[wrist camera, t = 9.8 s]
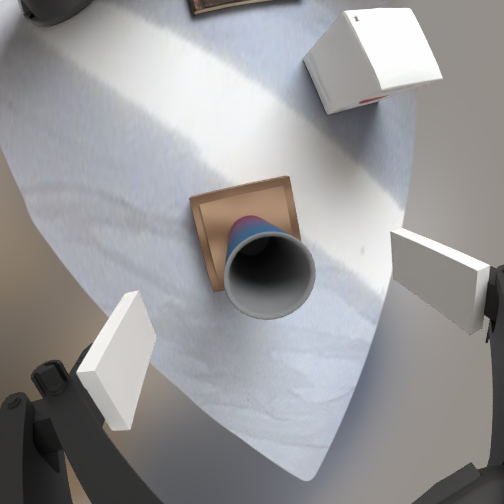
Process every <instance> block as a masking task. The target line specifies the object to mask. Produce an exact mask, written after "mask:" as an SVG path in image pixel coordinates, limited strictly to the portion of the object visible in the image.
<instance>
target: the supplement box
mask: <svg viewBox="0 0 504 504" xmlns="http://www.w3.org/2000/svg"><path fill="white" fill-rule="evenodd" d="M303 60H304V62H305V65H306V67H307V69H308V71H309V73H310V76H311V78H312V80H313V83H314V85H315V87H316V90H317V92H318V94H319V97H320V99H321V102H322V104H323V107H324V109H325V111H326V113H327V115H329V114H333V113H337V112H341V111H344V110H348V109H352V108H355V107H359V106H363V105H367V104H371V103H375V102H378V101H381V100H383V99H386V98H389V97H392V96H394V95H397V94H400V93H403V92H406V91H408V90H411V89H414V88H417V87H420V86H423V85H426V84H429V83H432V82H436V81H439V80H442V79H443V78H442V76H441V73H440V70H439V67H438V65H437V63H436V60H435V58H434V56H433V54H432V52H431V49H430V47H429V45H428V43H427V40H426V38H425V36H424V34H423V32H422V30H421V28H420V26H419V24H418V22H417V20H416V18H415V16H414V14H413V12H412V11H411V9H409V8H386V9H385V8H376V9H366V10H352V11H344V12H343V13H342V14H341V15H340V16H339V17H338V19H337V20H336V21H335V22H334V23H333V24H332V25H331V26H330V28H329V29H328V30H327V31H326V32H325V33H324V34H323V36H322V37H321V38H320V39H319V40H318V41H317V42H316V44H315V45H314V46H313V47H312V48H311V49H310V51H309V52H308V53H307V54H306V55H305V57H304V58H303Z"/></svg>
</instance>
